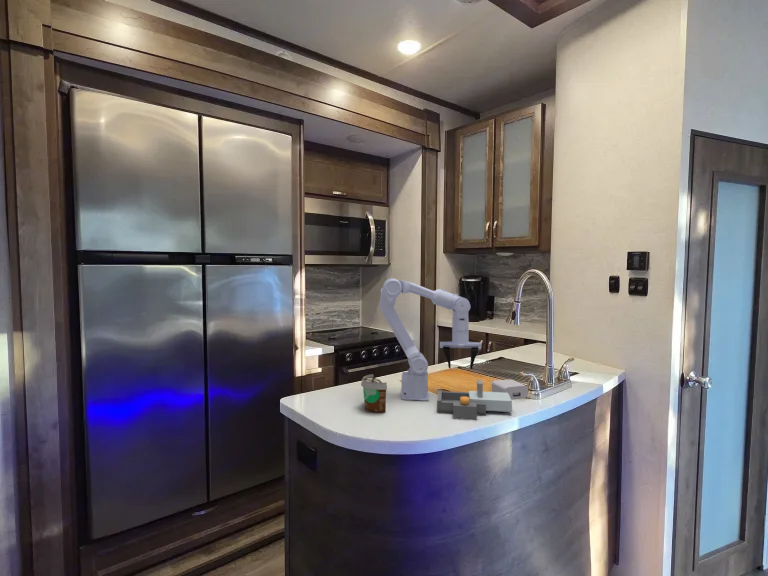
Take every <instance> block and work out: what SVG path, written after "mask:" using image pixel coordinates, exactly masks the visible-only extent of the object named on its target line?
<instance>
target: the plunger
mask: <svg viewBox="0 0 768 576" xmlns="http://www.w3.org/2000/svg"><path fill="white" fill-rule="evenodd" d="M460 403H461V404H469V397H466V396H462V397H460Z"/></svg>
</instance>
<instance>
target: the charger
mask: <svg viewBox="0 0 768 576" xmlns="http://www.w3.org/2000/svg"><path fill="white" fill-rule="evenodd" d="M490 385H491V392H503V393H508V394H509V396H510V398H511V400H522V399H527V398H528V397H527V395H528V396H529V387H528V386H527V385H525V384H523V383H520V382H518V381H516V380H514V379H500V380H493V381H491V383H490ZM526 397H527V398H526Z"/></svg>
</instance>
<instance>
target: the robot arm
mask: <svg viewBox="0 0 768 576" xmlns="http://www.w3.org/2000/svg"><path fill="white" fill-rule="evenodd" d="M401 293H402V294H403V295H404V294H409V293H412V294H415V295H417V296H420V297H424V298H427V299H430V300H431V302H432V303H433V305H436V306H438V307H441V308H443V309H445V310H446V309H447V310H448V311H449V310H452V322H451V323H452V324H451V325H452V329H451V332H452V333H451V341H439V348H440V349H442V352H443V353H444V355H445V358H446V361H447V366H448V369H451V366H452V364H451V349H470V362H469V363H470V365H469V368H470V369H471V370H473V369H474V363H475V359H476V357H477V356H478V353H479V350H481V349H482V342H475V341H474V342H473V341H469V333H470V331H469V330H470V329H469V324H470V322H469V318H470V317H469V311H470V310H471V304H470V301H469V300H468V299H467V298H465V297H464V296H463V297H462V296H459V294H458V293H451V292H449V291H447V290H446V289H445V288H437V289H436V290H432V289H429V288H426V287H425V286H421V285H420V284H417V283H414V282H411V281H408V280H402V279H397V278H391V277H390V278H388V279H386V280H385V281H384V282H383V285H382V287H381V289H380V300H379V309H380V311H381V313H382V315H383V317H384V318H385V320H386V322H387V323H388V325H389V327H390V328H391V329H390V330H392V332H393V334H394V336H395V338H396V340H397V341H398V343H399V344H400V346H401V348H402V350H403V352H404V354H405V355H406V357H407V361H408V365H409V368H408V369H407V371H403V372H402V373H401V383H400V384H401V389H400V393H401V398H400V399H401V400H403V401H404V400H406V401H407V400H408V401H409V400H410V401H422V402H423V401H426V402H427V401H429V399H430V392H429V387H428V386H429V374H428V373H429V371H428V368H429V363H428V360H427V359H426V358H425V355H424V354H423V353H422V352H420V351H419V349H418V348H417V346H416V345H415V343H414V341H413V339H412V337H411V335H410V334H409V332H408V331H407V329H406V326H405V325H404V323H403V322H402V319H401V318H400V317H399V315H398V313H397V311H396V310H395V305H396V302H397V298H398V297H399V296H400V294H401Z"/></svg>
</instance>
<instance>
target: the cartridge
mask: <svg viewBox="0 0 768 576" xmlns="http://www.w3.org/2000/svg"><path fill="white" fill-rule="evenodd" d="M483 385H484V384H483V380H482V379H476V390H468V392H469V402H475V403H486V412H487V411H489V412H503V413H505V412H506V413H512V412H513V401H512V400H511V398H510V396H509V394H508V393H503V392H492V391H483V390H484V389H483V388H484V387H483Z"/></svg>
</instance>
